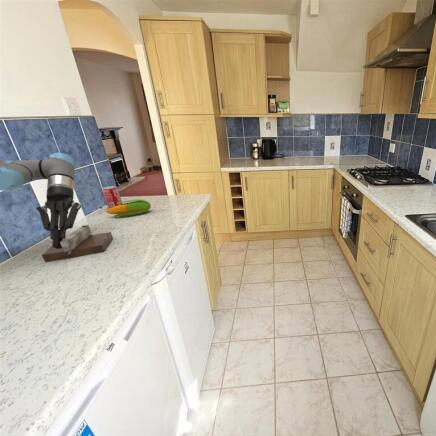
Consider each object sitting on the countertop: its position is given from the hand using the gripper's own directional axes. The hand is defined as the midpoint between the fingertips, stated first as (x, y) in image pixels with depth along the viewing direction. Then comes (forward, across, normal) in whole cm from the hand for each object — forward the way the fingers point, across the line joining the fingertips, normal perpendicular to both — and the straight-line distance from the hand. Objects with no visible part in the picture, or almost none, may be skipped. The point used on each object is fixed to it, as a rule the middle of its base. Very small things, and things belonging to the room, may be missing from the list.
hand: (57, 247), depth 86 cm
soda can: (-36, -3, -43) cm, 56 cm away
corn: (-25, -14, -32) cm, 43 cm away
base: (-1, -4, -8) cm, 9 cm away
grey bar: (-3, -4, -6) cm, 8 cm away
